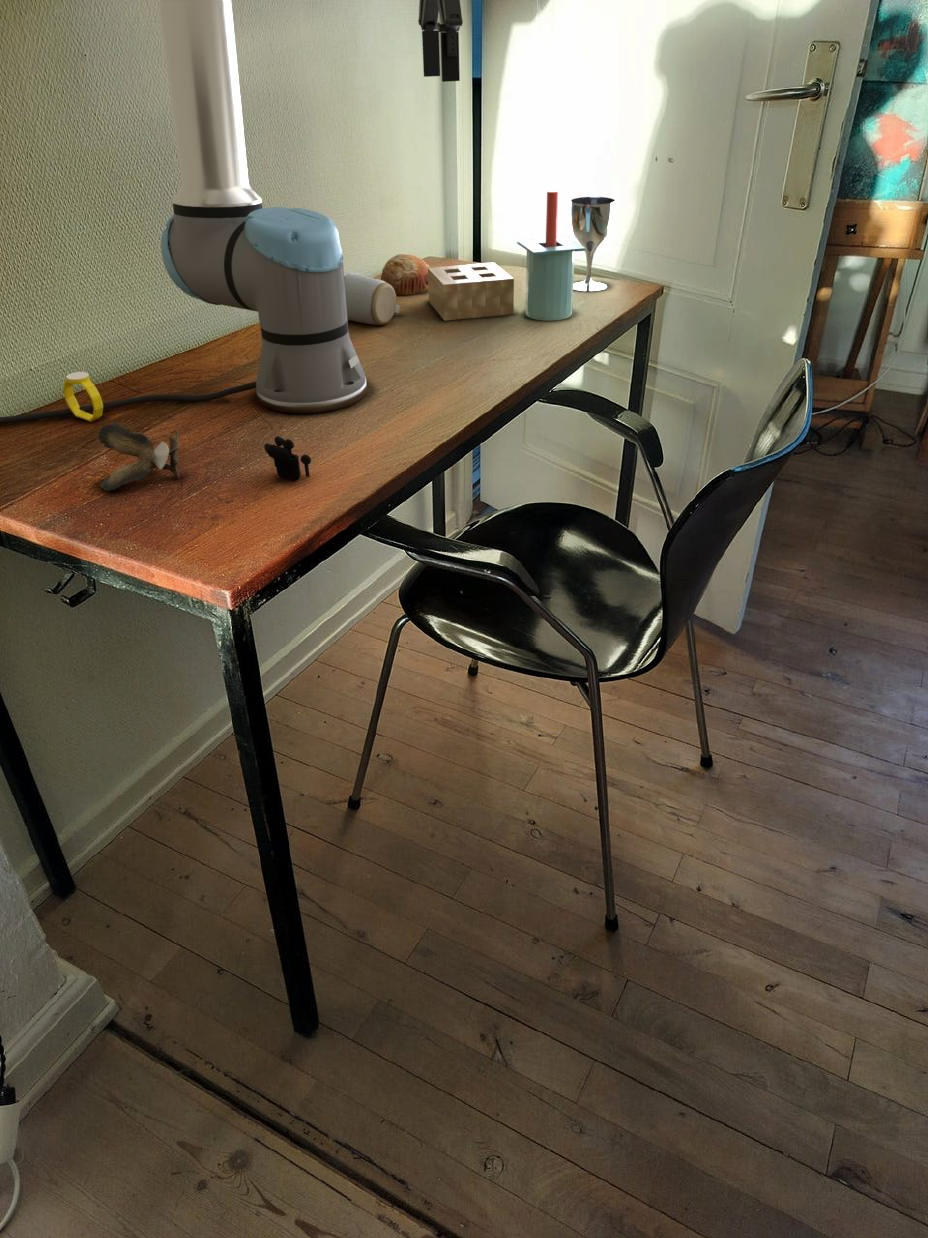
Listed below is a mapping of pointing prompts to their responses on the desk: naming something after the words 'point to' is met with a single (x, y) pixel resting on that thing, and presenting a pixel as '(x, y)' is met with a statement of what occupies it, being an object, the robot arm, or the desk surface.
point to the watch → (91, 390)
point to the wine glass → (591, 231)
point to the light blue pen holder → (549, 285)
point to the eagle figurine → (137, 454)
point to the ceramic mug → (369, 300)
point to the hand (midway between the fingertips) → (441, 78)
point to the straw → (551, 218)
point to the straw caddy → (470, 291)
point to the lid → (563, 243)
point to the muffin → (406, 274)
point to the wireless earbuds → (287, 459)
